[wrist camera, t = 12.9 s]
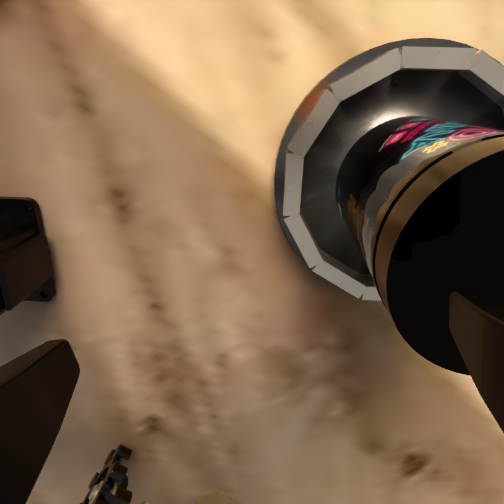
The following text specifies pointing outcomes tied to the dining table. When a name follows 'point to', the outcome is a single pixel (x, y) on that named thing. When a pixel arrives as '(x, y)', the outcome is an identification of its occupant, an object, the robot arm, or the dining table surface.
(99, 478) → the valve
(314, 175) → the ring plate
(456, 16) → the dining table surface
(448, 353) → the supplement container
